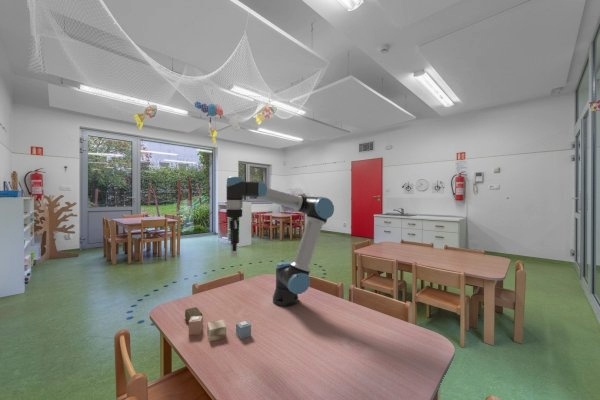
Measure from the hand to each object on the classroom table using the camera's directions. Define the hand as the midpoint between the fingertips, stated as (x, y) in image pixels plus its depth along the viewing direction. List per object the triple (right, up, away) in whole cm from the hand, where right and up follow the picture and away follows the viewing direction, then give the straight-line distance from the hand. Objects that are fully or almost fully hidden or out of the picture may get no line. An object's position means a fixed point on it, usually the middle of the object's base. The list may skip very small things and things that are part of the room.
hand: (233, 257), depth 123 cm
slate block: (+7, -33, -9) cm, 35 cm away
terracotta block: (-16, -32, -7) cm, 37 cm away
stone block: (-21, -33, +2) cm, 39 cm away
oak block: (-5, -33, -10) cm, 35 cm away
